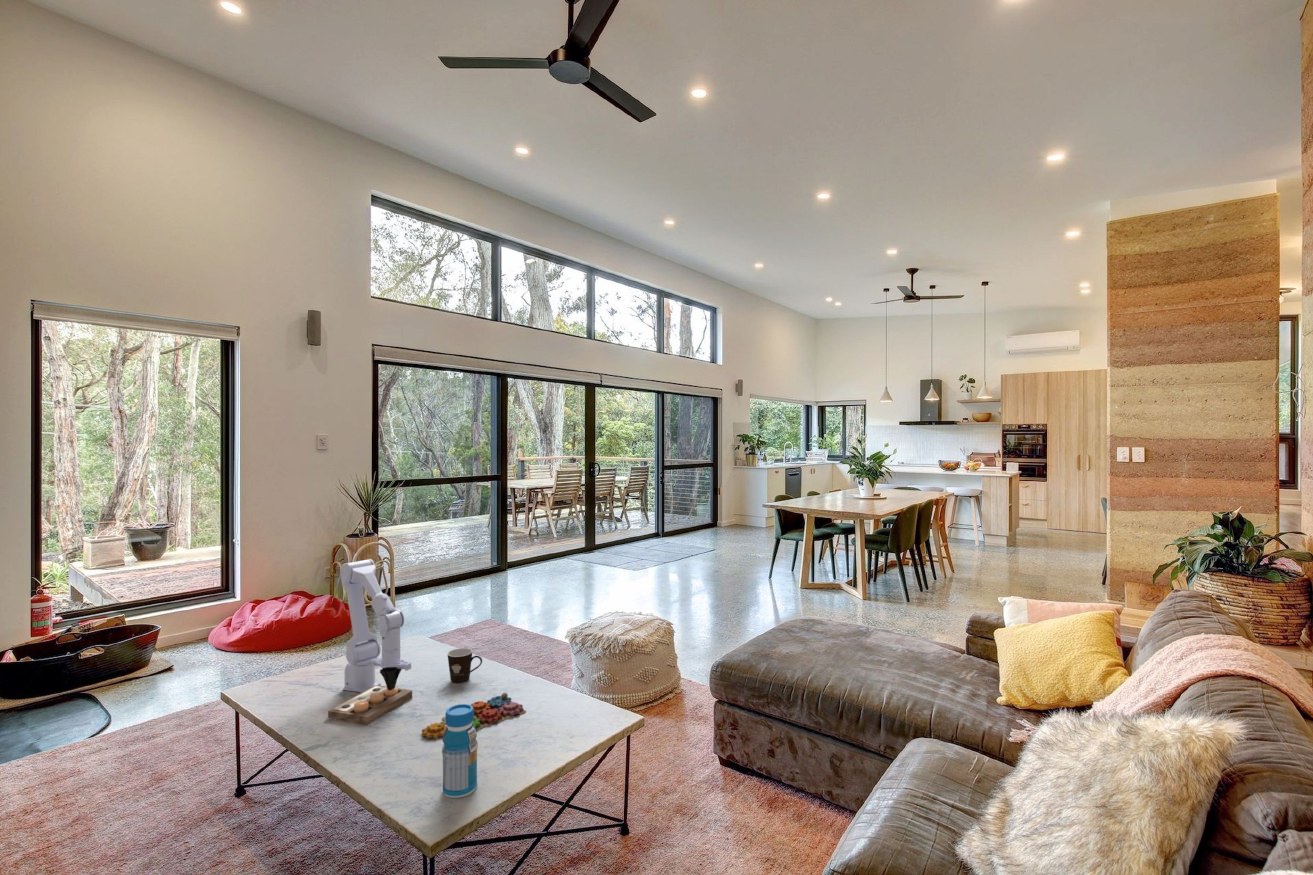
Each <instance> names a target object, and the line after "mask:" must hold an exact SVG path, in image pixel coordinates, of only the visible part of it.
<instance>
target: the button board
mask: <svg viewBox="0 0 1313 875" xmlns="http://www.w3.org/2000/svg"><path fill="white" fill-rule="evenodd" d="M386 688H387V686H386V685H375V686H373V687H371V688H369V689H367V690H366V691H364V692H359V693H358V694H356V695H355V696H353V697H351V698H349V699H347V700H345V701H344V702H342V703H339V704H338V705H336V706H333V707H332V708H330V709H329V710H328V711H327V712H328V713H327V719H328V718H331V719H330V720H333V719H336V720H335V721H340V722H345V723H351V724H357V725H363V726H369V725H370V724H372V723H374V722H375V721H377V720H378V719H381V717H383V716H386V714H388V713H391V711H394V710H395V709H396V708H398V707H399V706H401V705H403V704H405V703H407V702H408V701H409V700H411V699H412V698H413V690H412V689H405V688H400V687H399V688H398V694H396V695H394V696H392V697H391V696H385V689H386ZM376 692H383V693H384V701H383V702H382V703H379V704H370V695H371V694H373V693H376ZM359 701H368V703H369V709H368V711H366V712H364V713H355V712H354V704H355V703H356V702H359Z"/></svg>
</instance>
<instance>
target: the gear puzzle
mask: <svg viewBox="0 0 1313 875" xmlns="http://www.w3.org/2000/svg"><path fill="white" fill-rule="evenodd" d="M470 705H471V706H473V708H474V720H473V723H472V724H473V725H474V727H475V729H476V731H479V730H482V729H484V728H488V727H491V726H493V724H494V723H496V722H497V723H501V722H504V721H505V720H510V719H512V718H514V715H517V714H518V715H519V716H521V715H523V714H526V713H527V710H525V709H524V707H523V704H521V703H518V702H515V701H512V697H509V696H508V693H507V692H503V693H502V694H501V695H496V696H493V697H491V699H488V700H487V702H486V701H485V702H484V701H483V700H481V701H480V700H478V701H474V702H473V703H471V704H470ZM446 728H447V726H446V720H445V716H443V717H442V718H441V722H438V723H437V722H435V723H431V724H430V725H427V726H426V727H425V728H422V729H421V737H425V738H426V739H430V738H433V739H435V740H436V739H438V738H439V737H443V735H444V732H445V730H446Z"/></svg>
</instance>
